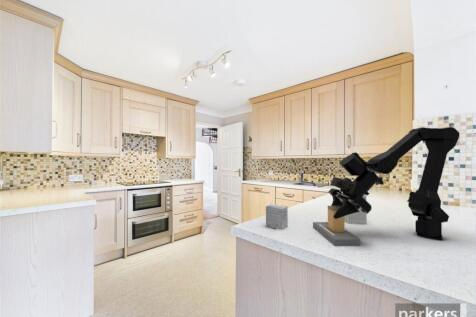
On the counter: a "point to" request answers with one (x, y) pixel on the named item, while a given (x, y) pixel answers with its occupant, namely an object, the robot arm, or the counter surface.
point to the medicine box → (276, 216)
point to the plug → (335, 220)
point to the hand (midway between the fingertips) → (331, 216)
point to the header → (336, 235)
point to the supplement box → (357, 217)
